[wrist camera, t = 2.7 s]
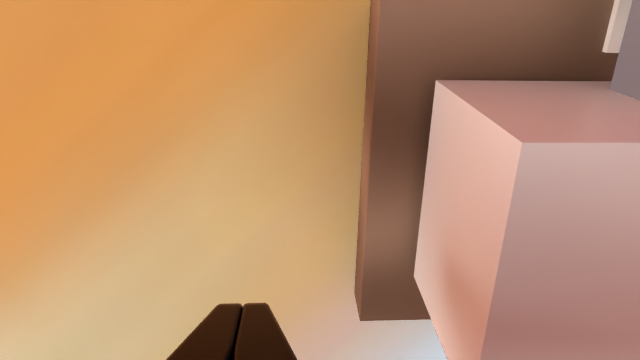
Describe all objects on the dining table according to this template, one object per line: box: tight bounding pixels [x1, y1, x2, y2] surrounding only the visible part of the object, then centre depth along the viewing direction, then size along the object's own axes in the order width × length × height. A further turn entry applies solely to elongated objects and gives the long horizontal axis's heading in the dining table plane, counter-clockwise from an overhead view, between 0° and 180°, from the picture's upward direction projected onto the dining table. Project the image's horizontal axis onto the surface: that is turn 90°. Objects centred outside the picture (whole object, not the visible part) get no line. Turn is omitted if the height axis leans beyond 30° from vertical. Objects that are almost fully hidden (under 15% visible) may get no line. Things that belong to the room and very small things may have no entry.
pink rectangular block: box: [414, 0, 640, 360], centre depth 10 cm, size 10×5×5 cm, turn 179°
